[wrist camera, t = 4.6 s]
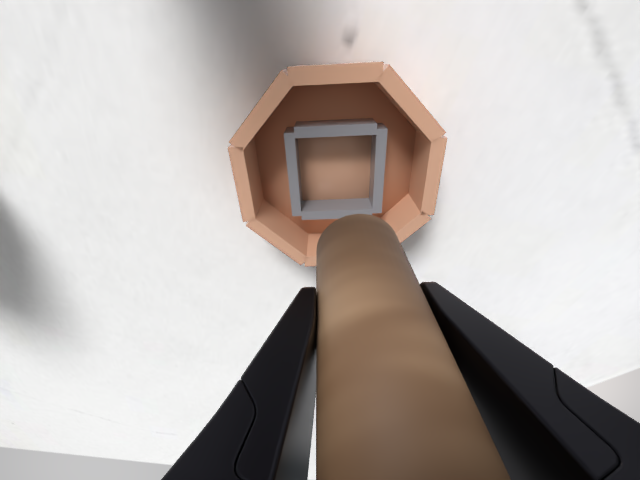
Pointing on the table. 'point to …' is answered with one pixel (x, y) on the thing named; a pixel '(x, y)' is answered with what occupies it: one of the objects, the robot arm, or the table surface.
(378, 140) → the tan polygonal bowl
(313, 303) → the robot arm
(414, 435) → the wooden dowel rod
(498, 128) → the table surface
